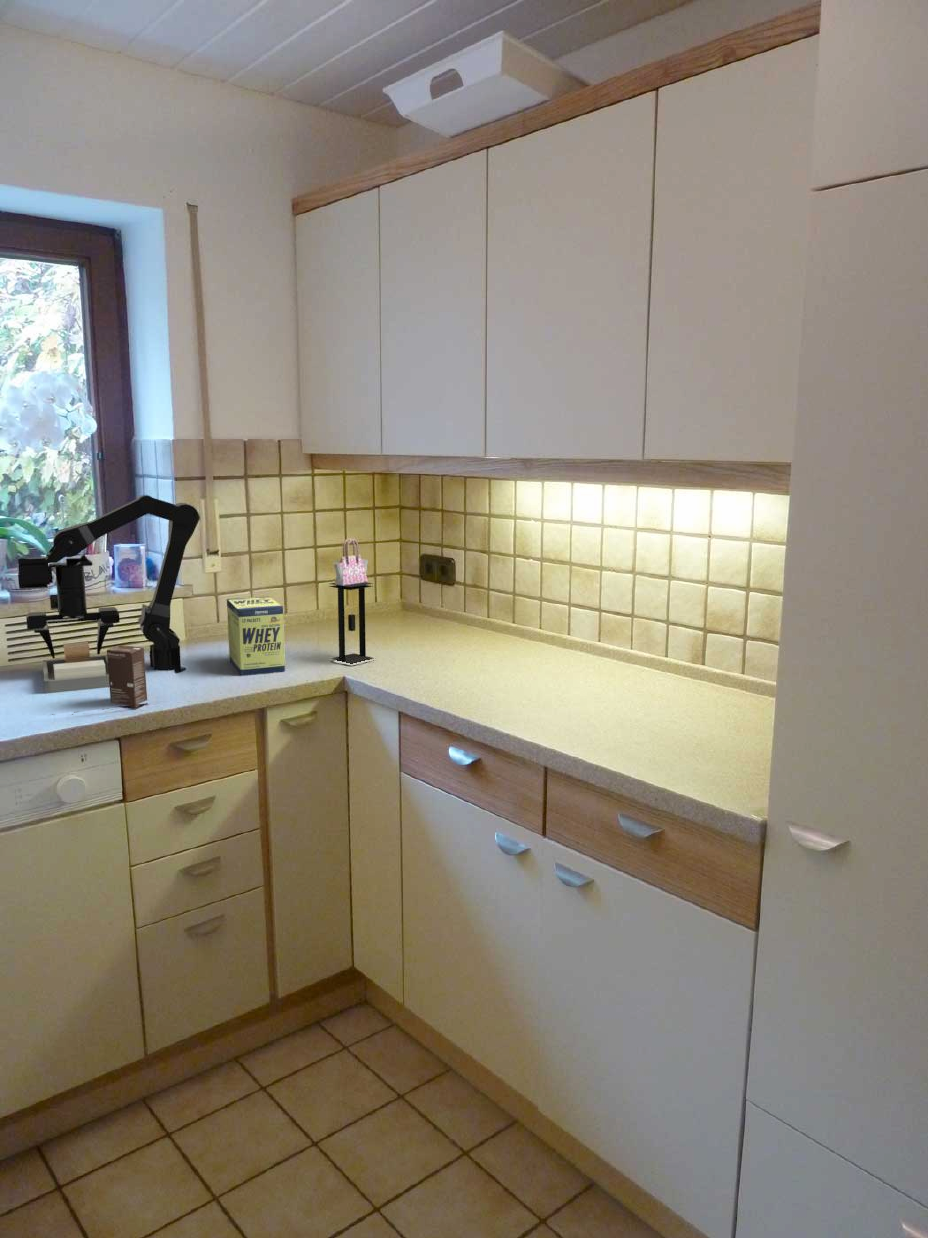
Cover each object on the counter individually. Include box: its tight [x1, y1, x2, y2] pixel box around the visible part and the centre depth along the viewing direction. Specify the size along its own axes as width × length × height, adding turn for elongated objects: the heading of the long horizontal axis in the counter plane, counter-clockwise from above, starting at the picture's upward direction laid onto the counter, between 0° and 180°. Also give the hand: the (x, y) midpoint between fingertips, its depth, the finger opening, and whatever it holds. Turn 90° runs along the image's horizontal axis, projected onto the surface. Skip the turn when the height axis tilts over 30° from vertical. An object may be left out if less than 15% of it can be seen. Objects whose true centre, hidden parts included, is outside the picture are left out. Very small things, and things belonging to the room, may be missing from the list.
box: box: [106, 644, 148, 710], centre depth 186 cm, size 6×4×12 cm
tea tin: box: [63, 641, 91, 663], centre depth 206 cm, size 5×5×7 cm
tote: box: [42, 654, 110, 695], centre depth 204 cm, size 20×14×4 cm
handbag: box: [328, 538, 375, 664], centre depth 222 cm, size 10×8×30 cm
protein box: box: [226, 596, 286, 677], centre depth 218 cm, size 10×16×16 cm
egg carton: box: [53, 660, 106, 680], centre depth 198 cm, size 5×10×4 cm, turn 115°
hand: (76, 655), depth 205 cm, fingers open, 9 cm apart
